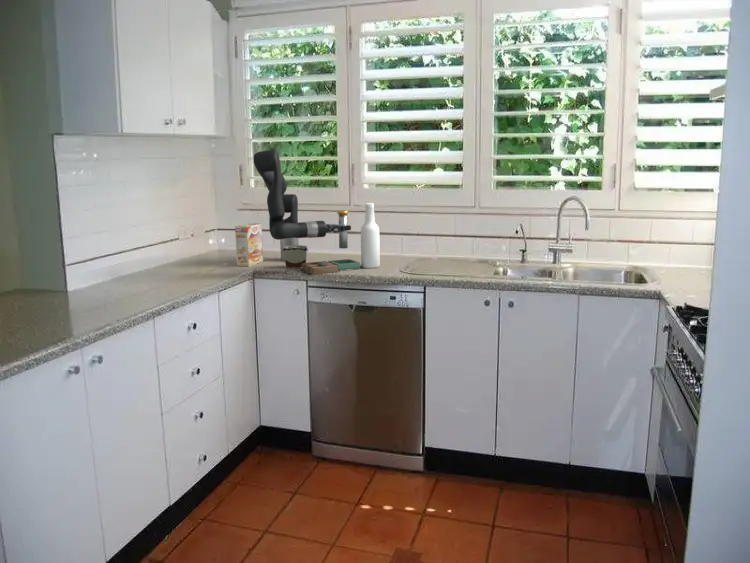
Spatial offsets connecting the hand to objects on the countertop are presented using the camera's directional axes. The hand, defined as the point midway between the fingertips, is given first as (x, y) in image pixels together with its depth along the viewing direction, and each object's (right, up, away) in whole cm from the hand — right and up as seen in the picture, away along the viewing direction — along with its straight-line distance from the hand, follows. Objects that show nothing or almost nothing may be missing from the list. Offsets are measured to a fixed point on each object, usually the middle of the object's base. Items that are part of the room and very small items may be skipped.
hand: (348, 227), depth 314 cm
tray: (-2, -19, +3) cm, 19 cm away
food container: (-25, -18, +8) cm, 32 cm away
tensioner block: (-13, -20, -4) cm, 25 cm away
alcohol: (+10, -19, +4) cm, 22 cm away
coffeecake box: (-49, -17, +18) cm, 55 cm away
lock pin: (-2, -10, 0) cm, 10 cm away
